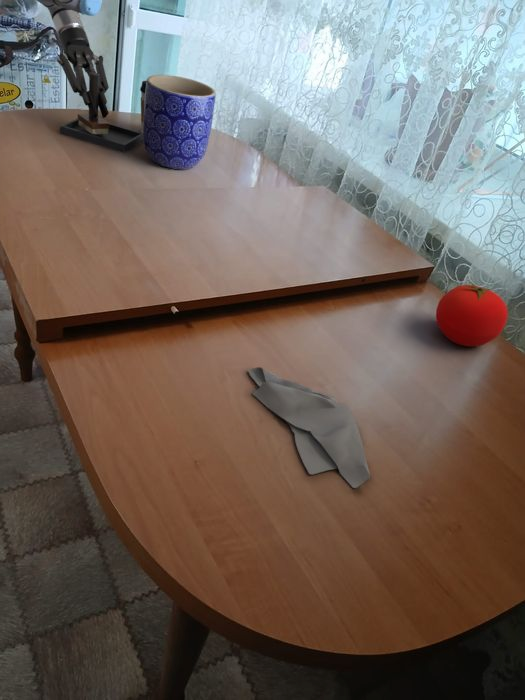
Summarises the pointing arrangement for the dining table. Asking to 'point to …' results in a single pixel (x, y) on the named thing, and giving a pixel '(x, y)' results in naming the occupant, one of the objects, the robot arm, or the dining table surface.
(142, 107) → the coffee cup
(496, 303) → the tomato
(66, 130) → the tray
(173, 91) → the planter
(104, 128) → the brush
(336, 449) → the cloth
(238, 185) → the dining table surface
